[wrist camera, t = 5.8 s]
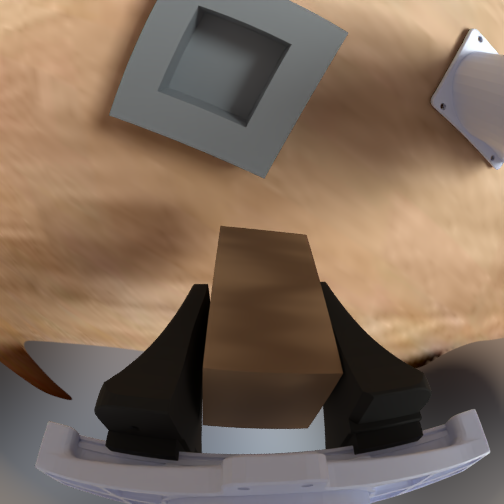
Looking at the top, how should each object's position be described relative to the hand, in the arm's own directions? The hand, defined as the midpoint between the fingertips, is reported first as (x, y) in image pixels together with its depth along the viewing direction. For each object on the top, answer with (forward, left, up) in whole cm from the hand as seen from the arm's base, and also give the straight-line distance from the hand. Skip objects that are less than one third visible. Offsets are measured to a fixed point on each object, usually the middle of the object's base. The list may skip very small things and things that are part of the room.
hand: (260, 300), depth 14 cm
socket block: (+6, -8, -10) cm, 14 cm away
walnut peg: (0, 0, -3) cm, 3 cm away
